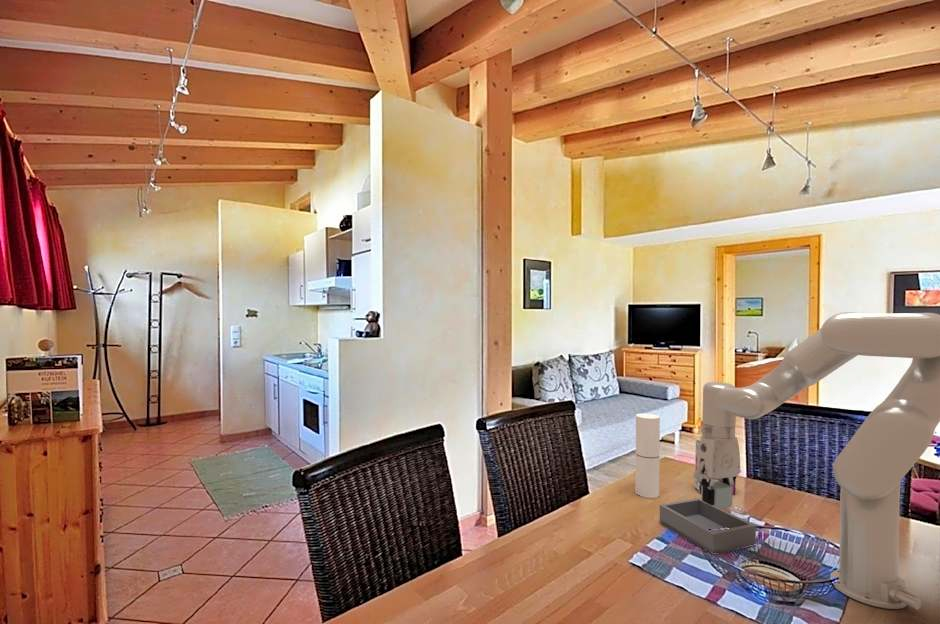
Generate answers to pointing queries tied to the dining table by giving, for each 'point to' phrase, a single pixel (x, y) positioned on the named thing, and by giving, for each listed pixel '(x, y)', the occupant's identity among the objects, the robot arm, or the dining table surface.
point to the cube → (721, 495)
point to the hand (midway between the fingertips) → (716, 500)
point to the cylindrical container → (647, 455)
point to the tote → (707, 525)
